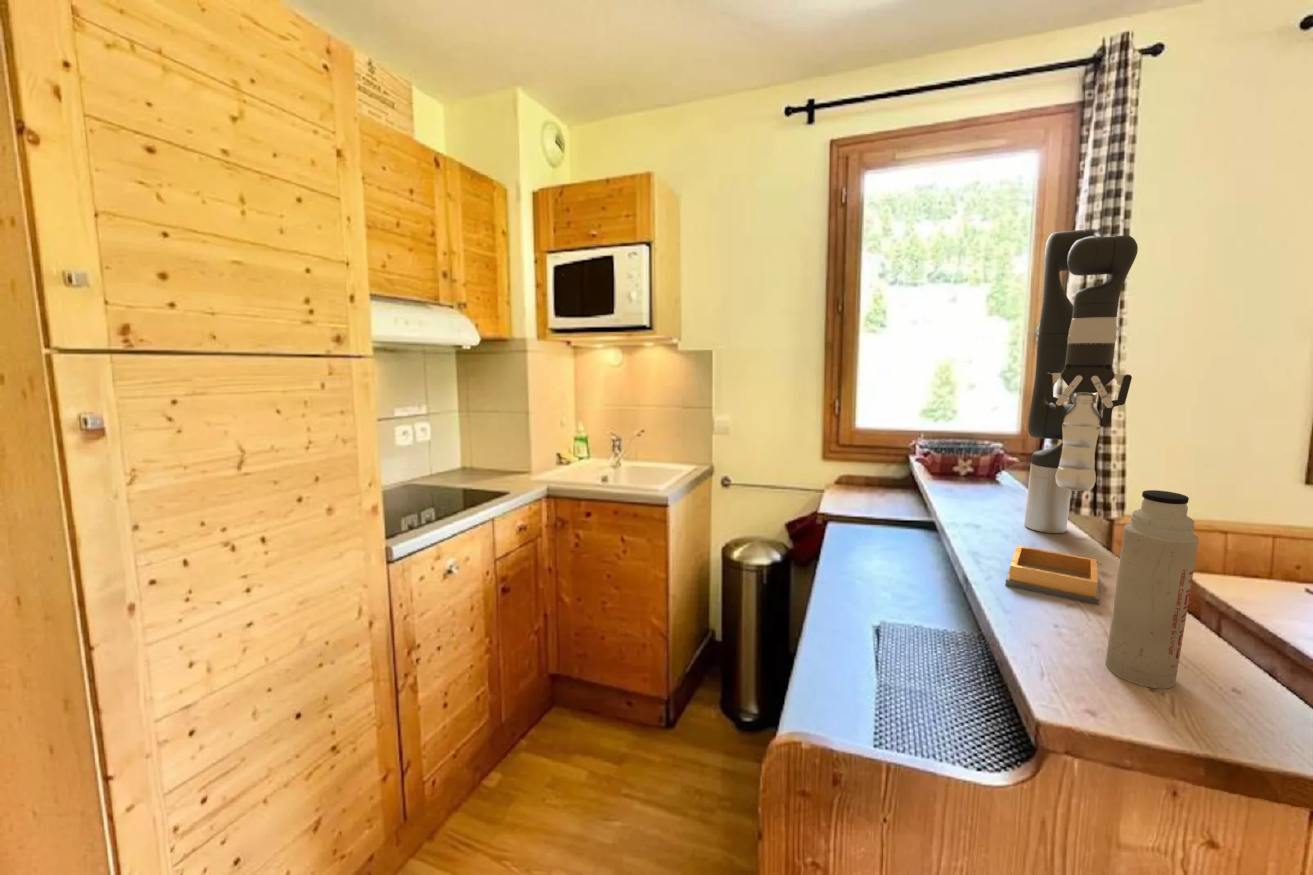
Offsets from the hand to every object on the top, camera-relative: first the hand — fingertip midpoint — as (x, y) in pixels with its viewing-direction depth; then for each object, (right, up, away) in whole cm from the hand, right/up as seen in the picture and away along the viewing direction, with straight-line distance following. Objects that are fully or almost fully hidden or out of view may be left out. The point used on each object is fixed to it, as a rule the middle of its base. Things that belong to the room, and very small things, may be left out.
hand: (1081, 424), depth 112 cm
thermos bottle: (-13, -38, -29) cm, 50 cm away
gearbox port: (-4, -33, +2) cm, 33 cm away
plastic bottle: (0, -14, +2) cm, 14 cm away
